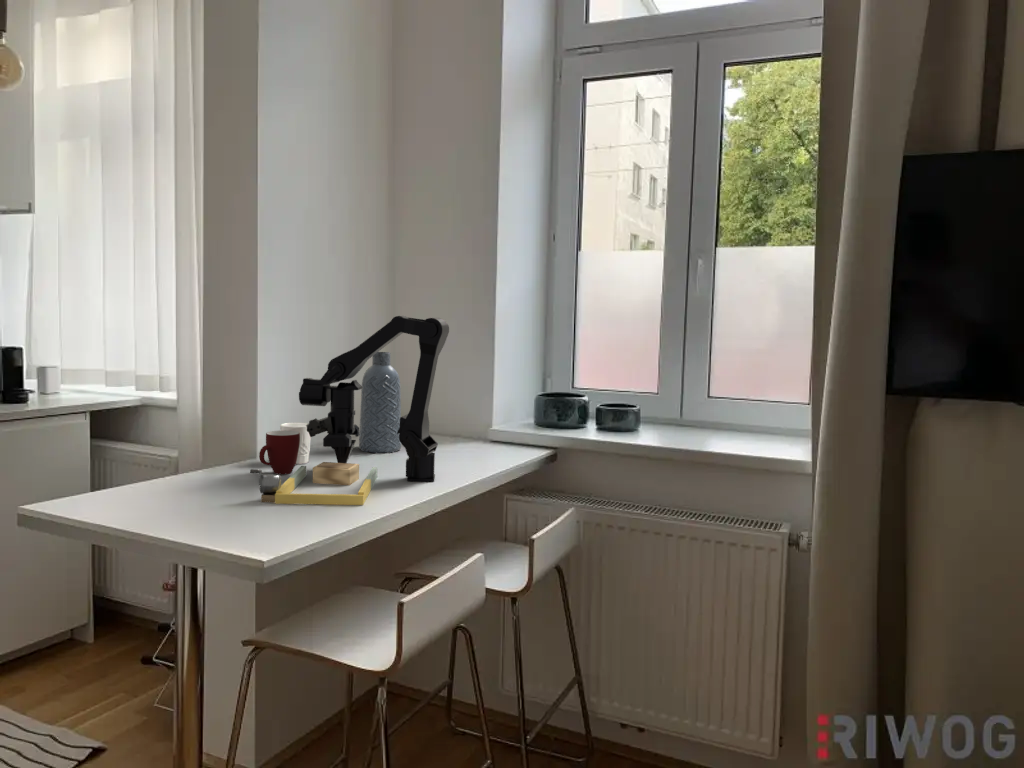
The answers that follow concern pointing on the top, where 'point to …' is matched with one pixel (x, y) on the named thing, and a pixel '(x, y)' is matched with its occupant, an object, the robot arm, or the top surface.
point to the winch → (268, 485)
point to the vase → (380, 407)
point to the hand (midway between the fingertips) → (341, 469)
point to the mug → (281, 450)
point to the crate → (336, 473)
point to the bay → (287, 497)
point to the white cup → (304, 440)
